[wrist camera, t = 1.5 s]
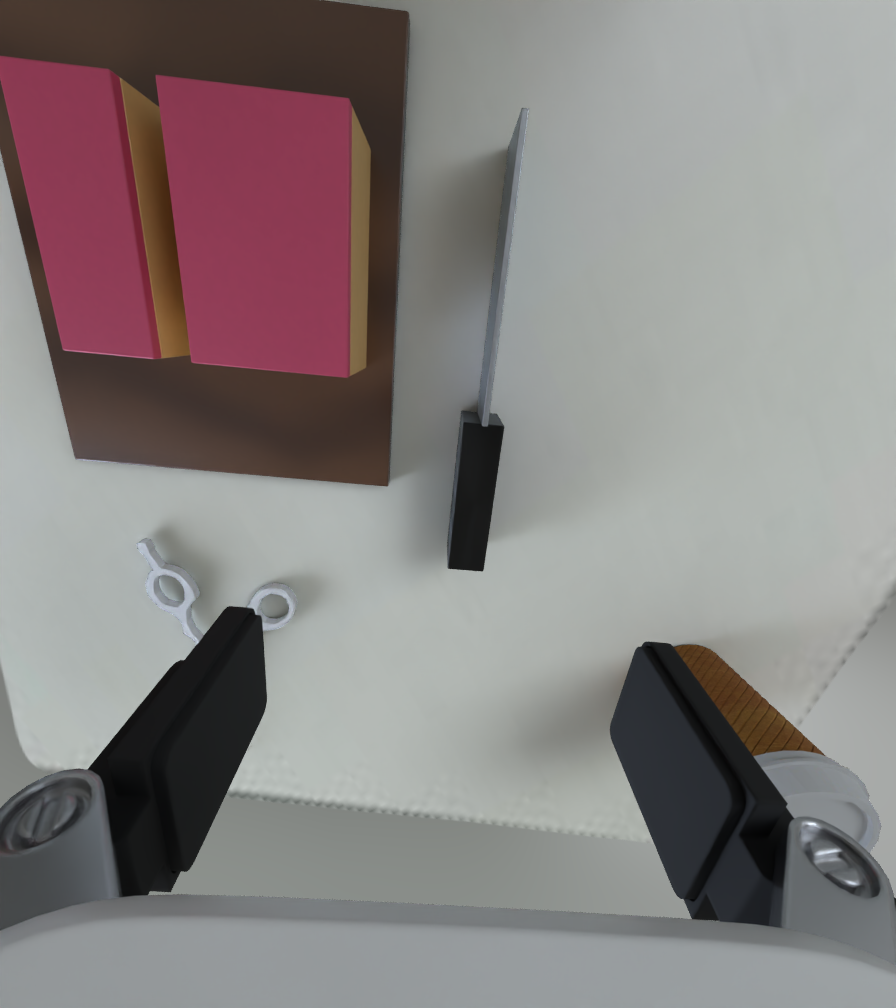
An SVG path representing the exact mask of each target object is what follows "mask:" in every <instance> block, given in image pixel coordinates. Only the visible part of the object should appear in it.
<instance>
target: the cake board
mask: <svg viewBox="0 0 896 1008" xmlns="http://www.w3.org/2000/svg"><path fill="white" fill-rule="evenodd" d="M409 35H410V19H409V13H408V12H407V11H401V10H393V9H386V8H378V7H370V6H363V5H355V4H347V3H340V2H332V1H324V0H0V56H6V57H15V58H23V59H31V60H39V61H47V62H56V63H64V64H72V65H80V66H88V67H97V68H105V69H109V70H111V71H112V72H113V73H115V74H116V75H117V76H119V77H120V78H122V79H123V80H124V81H125V82H127V83H128V84H129V85H131V86H132V87H133V88H135V89H136V90H137V91H139V92H140V93H141V94H142V95H144V96H145V97H146V98H148V99H149V100H150V101H152V102H153V103H154V104H156V105H157V106H158V107H159V100H158V92H157V84H156V75H163V76H171V77H179V78H188V79H196V80H204V81H212V82H220V83H229V84H237V85H245V86H253V87H261V88H270V89H278V90H286V91H294V92H303V93H311V94H319V95H327V96H335V97H344V98H349V100H350V102H351V105H352V107H353V109H354V111H355V114H356V116H357V118H358V121H359V123H360V125H361V128H362V130H363V133H364V135H365V137H366V140H367V142H368V144H369V147H370V149H371V164H370V211H369V259H368V306H367V354H366V368H365V369H363V370H361V371H359V372H357V373H355V374H353V375H351V376H349V377H347V378H344V377H334V376H324V375H313V374H303V373H292V372H282V371H271V370H261V369H251V368H240V367H230V366H219V365H209V364H199V363H192V362H191V355H187V356H178V357H169V358H160V359H147V358H136V357H126V356H116V355H105V354H95V353H84V352H74V351H65V350H63V348H62V344H61V339H60V335H59V331H58V326H57V322H56V318H55V313H54V309H53V305H52V301H51V296H50V292H49V288H48V283H47V279H46V275H45V270H44V266H43V262H42V257H41V253H40V249H39V244H38V240H37V236H36V231H35V227H34V223H33V218H32V214H31V210H30V205H29V201H28V197H27V192H26V188H25V184H24V179H23V175H22V171H21V166H20V162H19V158H18V153H17V149H16V145H15V140H14V136H13V132H12V128H11V123H10V119H9V115H8V110H7V106H6V102H5V97H4V93H3V89H2V84H1V80H0V151H1V155H2V159H3V163H4V167H5V171H6V175H7V180H8V184H9V188H10V192H11V196H12V200H13V204H14V208H15V213H16V217H17V221H18V225H19V229H20V233H21V237H22V241H23V245H24V250H25V254H26V258H27V262H28V266H29V270H30V274H31V278H32V283H33V287H34V291H35V295H36V299H37V303H38V307H39V311H40V315H41V320H42V324H43V328H44V332H45V336H46V340H47V344H48V348H49V352H50V357H51V361H52V365H53V369H54V373H55V377H56V381H57V385H58V390H59V394H60V398H61V402H62V406H63V410H64V414H65V418H66V422H67V427H68V431H69V435H70V439H71V443H72V447H73V451H74V455H75V459H77V460H88V461H100V462H111V463H123V464H134V465H146V466H158V467H169V468H181V469H192V470H204V471H215V472H227V473H239V474H250V475H262V476H273V477H285V478H296V479H308V480H320V481H331V482H343V483H354V484H366V485H377V486H388V484H389V480H390V458H391V436H392V413H393V391H394V369H395V347H396V324H397V302H398V280H399V258H400V235H401V213H402V191H403V169H404V147H405V124H406V102H407V80H408V58H409Z"/></svg>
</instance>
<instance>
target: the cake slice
mask: <svg viewBox="0 0 896 1008" xmlns="http://www.w3.org/2000/svg"><path fill="white" fill-rule="evenodd" d="M0 80H1V84H2V89H3V93H4V97H5V102H6V106H7V110H8V115H9V119H10V123H11V128H12V132H13V136H14V140H15V145H16V149H17V153H18V158H19V162H20V166H21V171H22V175H23V179H24V184H25V188H26V192H27V197H28V201H29V205H30V210H31V214H32V218H33V223H34V227H35V231H36V236H37V240H38V244H39V249H40V253H41V257H42V262H43V266H44V270H45V275H46V279H47V283H48V288H49V292H50V296H51V301H52V305H53V309H54V313H55V318H56V322H57V326H58V331H59V335H60V339H61V344H62V348H63V350H65V351H74V352H84V353H95V354H105V355H116V356H126V357H136V358H147V359H160V358H169V357H178V356H187V355H191V354H190V346H189V338H188V330H187V322H186V315H185V307H184V299H183V291H182V283H181V275H180V267H179V259H178V251H177V243H176V235H175V227H174V219H173V211H172V203H171V195H170V187H169V179H168V171H167V163H166V155H165V147H164V139H163V132H162V124H161V116H160V108H159V107H158V106H157V105H156V104H154V103H153V102H152V101H150V100H149V99H148V98H146V97H145V96H144V95H142V94H141V93H140V92H139V91H137V90H136V89H135V88H133V87H132V86H131V85H129V84H128V83H127V82H125V81H124V80H123V79H122V78H120V77H119V76H117V75H116V74H115V73H113V72H112V71H111V70H109V69H105V68H97V67H88V66H80V65H72V64H64V63H56V62H47V61H39V60H31V59H23V58H15V57H6V56H0Z"/></svg>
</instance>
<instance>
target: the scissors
mask: <svg viewBox="0 0 896 1008" xmlns="http://www.w3.org/2000/svg"><path fill="white" fill-rule="evenodd" d="M137 549H138V550H139V551H140V552H141V553H142V554H143V555H144V557H145V558H146V560H147V562H148V564H149V565H150V567H151V568H152V571H151V572H150V573H149V574H148V577H147V580H146V583H145V584H146V589H147V594H148V596H149V597H150V599H151V600H152V601H153V602H154V603H155V604H156V605H157V606H158V607H160V608H161V609H163V610H164V611H167V612H169V613H171V614H173V615H174V616H175V617H176V618H177V619H178V620H179V621H180V622H181V623H182V626H183V634H185V635H186V636H188V637H189V638H191V639H192V640H193V641H194V642H195V643H196V644H198V643H199V641H200V640H201V639H202V637H203V636H204V635H203V634H202V633H201V632H200V630H199V629H198V628H197V627H196V625H195V623H194V621H193V619H192V614H191V604H192V603H193V601H194V600H195V599H196V598H197V597H198V596H199V595H200V592H199V589H198V586H197V584H196V582H195V581H194V580H193V578H192V577H191V576H190V575H189V574H188V573H187V572H186V571H185V570H184V569H182V568H180V567H178V566H175V565H171V564H166V563H165V562H164V560H163V559H162V558H161V557H160V555H159V554H158V552H157V551H156V550H155V546H154V544H153V542H152V540H151V539H148V538H145V539H143V540H141V541H140V542H138V543H137ZM161 575H168V576H171V577H174V578H175V579H177V580H178V581H179V582H180V583H181V585H182V586H183V589H184V594H185V597H184V601H183V602H179V601H174V600H170V599H169V598H168V597H166V596H165V595H164V593H163V592H162V591H161V589H160V587H159V577H160V576H161ZM270 593H271V594H276V595H280V596H282V597H284V598H285V599H286V600H287V602H288V605H289V612H288V613H287V614H286V615H284V616H283V617H281V618H278V619H274V618H268V617H266V616H265V615H263V612H262V610H261V608H260V605H261V601H262V599H263V598H264V597H265V596H266V595H267V594H270ZM296 607H297V597H296V596H295V594H294V592H293V591H292V590H291V589H290V588H289V587H288V586H286V585H284V584H279V583H272V584H268V585H265V586H263V587H262V588H261V589H260V590H259V591H258V592H257V593H256V594H255V595H254V596H253V598H252V599H251V601H250V603H249V605H248V607H247V608H253V609H254V611H255V615H261V617H262V624H263V631H267V630H274V629H277V628H280V627H282V626H283V625H285V624H286V623H288V622H289V621H290V619H291V618H292V617H293V615H294V613H295V611H296Z"/></svg>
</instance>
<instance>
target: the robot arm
mask: <svg viewBox="0 0 896 1008" xmlns="http://www.w3.org/2000/svg"><path fill="white" fill-rule="evenodd" d="M266 702H267V692H266V675H265V658H264V641H263V624H262V617H261V615H255V611H254V609H253V608H244V607H233V606H229V607H227V608H226V609H225V610H224V611H223V612H222V613H221V615H220V616H219V617H218V618H217V620H216V621H215V622H214V624H213V625H212V626H211V627H210V629H209V630H208V631H207V632H206V634H205V635H204V636H203V637H202V639H201V640H200V641H199V643H198V644H197V645H196V646H195V648H194V649H193V650H192V651H191V653H190V654H189V655H188V656H187V658H186V659H185V660H184V661H183V660H180V661H178V662H176V663H175V664H174V665H173V666H172V667H171V668H170V669H169V670H168V671H167V673H166V674H165V675H164V676H163V677H162V679H161V680H160V681H159V682H158V684H157V685H156V686H155V687H154V689H153V690H152V691H151V692H150V693H149V695H148V696H147V697H146V698H145V700H144V701H143V702H142V703H141V704H140V706H139V707H138V708H137V709H136V711H135V712H134V713H133V714H132V716H131V717H130V718H129V719H128V720H127V722H126V723H125V724H124V725H123V727H122V728H121V729H120V730H119V732H118V733H117V734H116V735H115V736H114V738H113V739H112V740H111V741H110V743H109V744H108V745H107V746H106V748H105V749H104V750H103V751H102V752H101V754H100V755H99V756H98V757H97V759H96V760H95V761H94V762H93V763H92V765H91V766H90V767H89V768H88V770H84V769H72V770H64V771H60V772H57V773H54V774H51V775H48V776H45V777H44V778H42V779H40V780H38V781H36V782H34V783H32V784H30V785H28V786H26V787H25V788H24V789H22V790H21V791H19V792H18V793H17V794H15V795H14V796H13V797H11V798H10V799H9V800H8V801H7V802H6V803H5V804H4V805H3V806H2V807H1V808H0V1008H896V898H894V895H893V890H892V888H891V885H890V882H889V879H888V878H887V876H886V874H885V873H884V871H883V869H882V868H881V866H880V865H879V864H878V863H877V861H876V860H875V859H874V858H873V857H872V856H871V855H870V853H869V852H868V851H867V850H866V849H865V848H864V847H862V846H861V845H860V844H859V843H858V842H857V841H855V840H854V839H853V838H852V837H851V836H849V835H848V834H846V833H845V832H843V831H842V830H840V829H839V828H837V827H835V826H833V825H831V824H829V823H827V822H825V821H823V820H820V819H816V818H813V817H809V816H804V817H797V818H795V819H794V817H793V816H792V815H791V813H790V812H789V810H788V809H787V808H786V806H787V805H788V803H787V802H786V801H785V799H784V798H783V796H782V795H781V794H780V792H779V791H778V790H777V788H776V787H775V785H774V784H773V783H772V781H771V780H770V779H769V777H768V776H767V774H766V773H765V772H764V770H763V769H762V768H761V766H760V765H759V764H758V762H757V761H756V759H755V758H754V757H753V755H752V754H751V753H750V751H749V750H748V748H747V747H746V746H745V744H744V743H743V742H742V740H741V739H740V737H739V736H738V735H737V733H736V732H735V731H734V729H733V728H732V727H731V725H730V724H729V722H728V721H727V720H726V718H725V717H724V716H723V714H722V713H721V711H720V710H719V709H718V707H717V706H716V705H715V703H714V702H713V700H712V699H711V698H710V696H709V695H708V694H707V692H706V691H705V690H704V688H703V687H702V685H701V684H700V683H699V681H698V680H697V679H696V677H695V676H694V674H693V673H692V672H691V670H690V669H689V668H688V666H687V665H686V663H685V662H684V661H683V659H682V658H681V657H680V655H679V654H678V653H677V651H676V650H675V648H674V647H673V646H672V645H671V644H668V643H658V642H645V643H644V644H643V645H642V647H638V648H637V649H636V650H635V653H634V656H633V659H632V662H631V665H630V668H629V671H628V674H627V677H626V680H625V683H624V686H623V689H622V692H621V695H620V698H619V700H618V703H617V706H616V709H615V712H614V715H613V718H612V721H611V725H610V735H611V739H612V742H613V745H614V747H615V749H616V752H617V754H618V757H619V759H620V761H621V764H622V766H623V769H624V771H625V774H626V776H627V778H628V781H629V783H630V786H631V788H632V791H633V793H634V795H635V798H636V800H637V803H638V805H639V808H640V810H641V812H642V815H643V817H644V820H645V822H646V825H647V827H648V829H649V832H650V834H651V837H652V839H653V842H654V844H655V846H656V849H657V851H658V854H659V856H660V859H661V861H662V863H663V866H664V868H665V871H666V873H667V876H668V878H669V880H670V883H671V885H672V888H673V890H674V892H675V893H676V895H677V896H678V897H679V898H681V899H684V901H685V904H686V906H687V908H688V911H689V913H690V915H691V918H692V919H683V918H667V917H650V916H632V915H616V914H599V913H583V912H566V911H548V910H530V909H510V908H493V907H474V906H454V905H434V904H414V903H396V902H373V901H353V900H330V899H329V900H328V899H309V898H288V897H264V896H226V895H188V894H177V895H148V894H149V892H150V891H159V892H160V891H161V892H171V890H172V888H173V886H174V884H175V882H176V880H177V878H178V876H179V874H180V872H181V871H184V872H185V871H188V870H189V869H190V867H191V866H192V865H193V862H194V861H195V859H196V857H197V854H198V852H199V850H200V848H201V846H202V844H203V842H204V840H205V838H206V836H207V833H208V831H209V829H210V827H211V825H212V823H213V820H214V819H215V816H216V814H217V812H218V810H219V808H220V806H221V804H222V802H223V799H224V797H225V795H226V793H227V791H228V789H229V787H230V785H231V782H232V780H233V778H234V776H235V774H236V772H237V770H238V768H239V765H240V763H241V761H242V759H243V757H244V755H245V753H246V751H247V748H248V746H249V744H250V742H251V740H252V738H253V736H254V734H255V731H256V729H257V727H258V725H259V723H260V721H261V719H262V717H263V714H264V711H265V708H266ZM708 920H713V921H708Z"/></svg>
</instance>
